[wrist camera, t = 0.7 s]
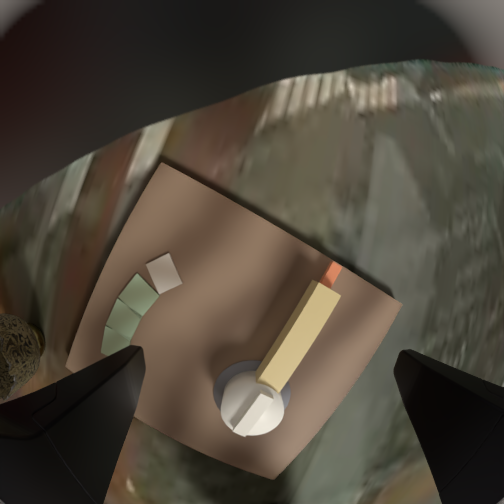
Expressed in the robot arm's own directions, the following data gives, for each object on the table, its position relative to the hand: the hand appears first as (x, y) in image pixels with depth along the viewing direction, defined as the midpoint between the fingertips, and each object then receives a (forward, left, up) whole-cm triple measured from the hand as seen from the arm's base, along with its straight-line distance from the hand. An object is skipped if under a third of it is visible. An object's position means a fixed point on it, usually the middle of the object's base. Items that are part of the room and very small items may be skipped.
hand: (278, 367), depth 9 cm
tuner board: (+1, +5, -13) cm, 14 cm away
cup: (+17, +16, -13) cm, 27 cm away
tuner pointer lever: (-3, +2, -11) cm, 12 cm away
